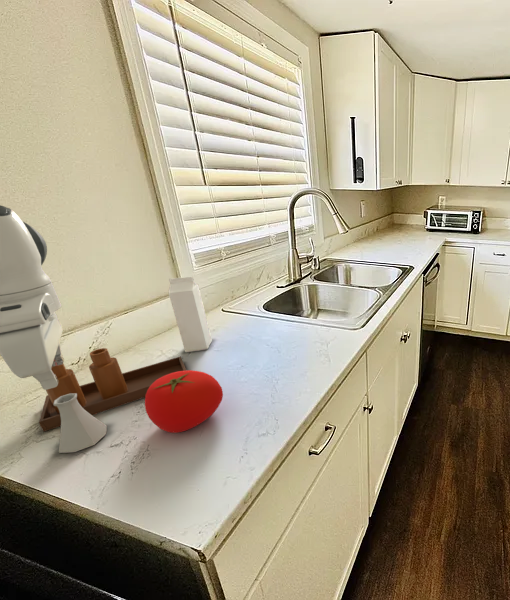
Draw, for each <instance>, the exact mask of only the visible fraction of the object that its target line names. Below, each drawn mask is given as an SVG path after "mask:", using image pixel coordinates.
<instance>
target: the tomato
mask: <svg viewBox="0 0 510 600" xmlns="http://www.w3.org/2000/svg"><path fill="white" fill-rule="evenodd" d="M186 370H187V369H186ZM223 396H224V391H223V387H222V386H221V384H220V383H219V381H217V379H216V378H215V377H214V376H212V375H211V374H209V373H206V372H204V371H199V370H191V369H190V370H187V371H178V372H174V373H170V374H168V375H165V376H163V377H161V378H159V379H157V380H156V381H155V382H154V383H153V384H152V385H151V386H150V387H149V388H148V390H147V393H146V396H145V398H144V410H145V412H146V414H147V416H148V419H149V420H150V421H151V422H152V423H153V424H154V425H155V426H156V427H158V429H160V430H162V431H164V432H167V433H171V434H177V433H182V432H185V431H189V430H191V429H193V428H195V427H196V426H197V427H198V425H200V424H202V423H203V422H205V421H206V420H207V419H209V418H210V417H211V416H212V415H214V414H215V412H216V411H217V409H218V408H219V407H220V405H221V402H222V400H223V398H224V397H223Z"/></svg>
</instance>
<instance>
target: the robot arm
mask: <svg viewBox="0 0 510 600" xmlns="http://www.w3.org/2000/svg"><path fill="white" fill-rule="evenodd" d="M47 254H48V244H47V242H46V240H45V239H44V237H43V236H42V235H41V233H40V232H39V231H37V229H35V228H34V227H33V226H31V225H30V224H28V223H26V222H25V221H23V220H22V218H21V217H20V216H19V215H18V214H17V213H16V212H15V211H14V210H13V209H11V208H9V207H7V206H4V205H1V204H0V356H1V358H2V360H3V361H4V362H5V364H6V365H7V367H8V368H9V369H10V371H11V372H12V374H14V375H15V376H16V377H18V378H20V379H27V378H30V377H33V378H34V379H35V380H36V381H38V382H39V384H40V386H41V388H42V389H43V390H44V391H46V390H48V389H51V388H54V387H57V386H58V379H57V376H56V374H54V373H53V372H52V370H51V367H52V366H57V365H62V364H64V362H65V357H64V355H63V354H62V348H61V338H62V336H63V332H64V329H63V325H62V323H61V321H60V319H59V316H58V315H57V313H56V311H59V310H60V309H61V308H62V307H63V305H62V302H61V300H60V298H59V295H58V293H57V290H56V287H55V286H54V283H53V281H52V279H51V277H50V276H49V275H48V274H47V273H46V272H45V270H44V268H43V267H42V266H43V264H44V263H45V261H46V259H47Z"/></svg>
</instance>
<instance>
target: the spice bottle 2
mask: <svg viewBox="0 0 510 600" xmlns="http://www.w3.org/2000/svg"><path fill="white" fill-rule="evenodd" d="M109 352H110V351H109V350H108V348H106V347H102V348H97V349H94V350H92V351H91V352H89V357H90V359H91V364H89V366H88V369H89V372H90V374H91V376H92V378H93V380H94V381H93V382H95V383H96V386H97V388H98V391H99V393H100V395H101V398H102V399H103V400H105V399H108V398H111V397H114V396H117V395H120V394H123V393H126V392H127V391H128V388H127V385H126V382H125V380H124V377H123V374H122V373H123V372H122V369H121V366H120V364H119V361H118V359H117V358H116V357H113V356H111V355H110V353H109Z"/></svg>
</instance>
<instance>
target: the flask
mask: <svg viewBox="0 0 510 600" xmlns="http://www.w3.org/2000/svg"><path fill="white" fill-rule="evenodd" d="M54 406H57V407H58V409H59V411H60V416H61V426H60V436H59V444H58V453H59V454H61V453H62V454H63V453H64V454H65V453H76V452H79V451H81V450H84V449H87V448H89V447H92V446H94V445H96V444H97V443H98V442H99V441H100V440H101V439H102V438H104V437H105V435H107V432H108V431H107V429H108V428H107V427H108V426H107V424H106V423H104V422H102V421H101V420H100V419H99V418H97V417H95V416H94V415H91V414H90V413H88V412H87V411H86V410H84V409H83V408H82V406H81V405H80V404H79V403H78V401H77V393H72V394H67V395H63V396H60V397H59V398H57V399H56V400H55V401H54Z"/></svg>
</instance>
